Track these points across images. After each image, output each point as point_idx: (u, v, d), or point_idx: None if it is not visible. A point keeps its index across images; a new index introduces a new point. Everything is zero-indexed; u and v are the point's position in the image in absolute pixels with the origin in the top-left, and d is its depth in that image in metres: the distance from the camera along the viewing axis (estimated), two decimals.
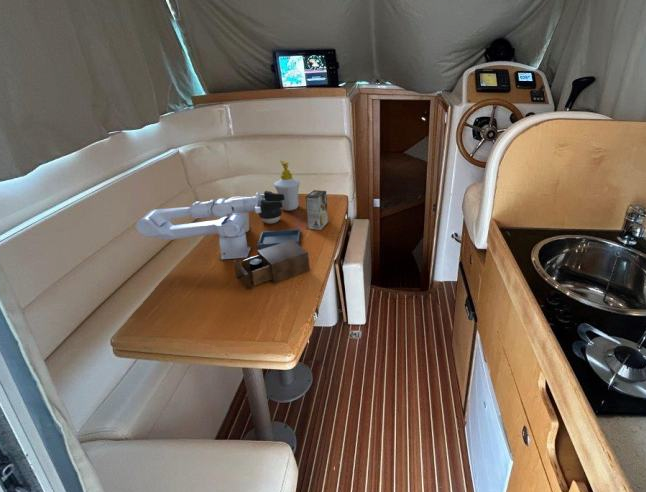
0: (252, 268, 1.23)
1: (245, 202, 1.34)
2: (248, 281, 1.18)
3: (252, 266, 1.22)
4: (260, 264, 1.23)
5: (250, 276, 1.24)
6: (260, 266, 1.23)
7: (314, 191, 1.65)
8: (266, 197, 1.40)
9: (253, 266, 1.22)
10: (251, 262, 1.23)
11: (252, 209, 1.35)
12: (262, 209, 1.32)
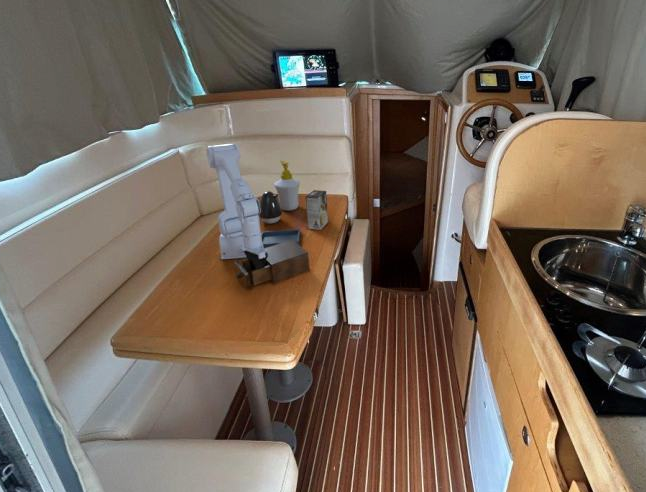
0: (252, 268, 1.23)
1: None
2: (248, 281, 1.18)
3: (252, 266, 1.22)
4: None
5: (250, 276, 1.24)
6: None
7: (314, 191, 1.65)
8: None
9: (253, 266, 1.22)
10: (251, 262, 1.23)
11: None
12: None
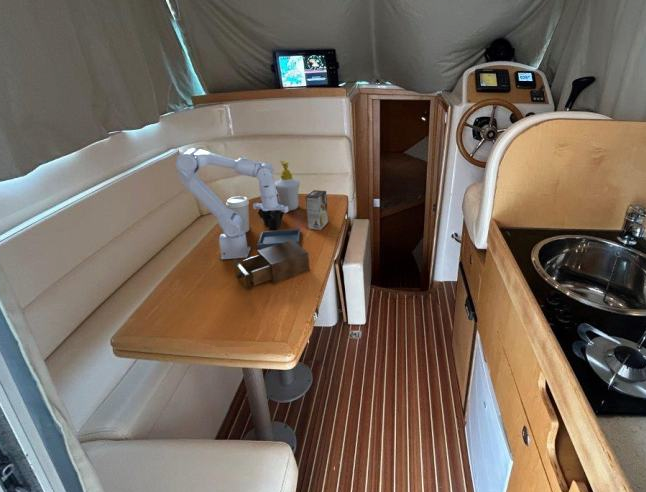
0: (272, 222, 1.39)
1: (261, 197, 1.36)
2: (248, 281, 1.18)
3: (272, 220, 1.39)
4: None
5: (250, 276, 1.24)
6: None
7: (314, 191, 1.65)
8: None
9: (273, 219, 1.39)
10: (269, 218, 1.39)
11: None
12: None
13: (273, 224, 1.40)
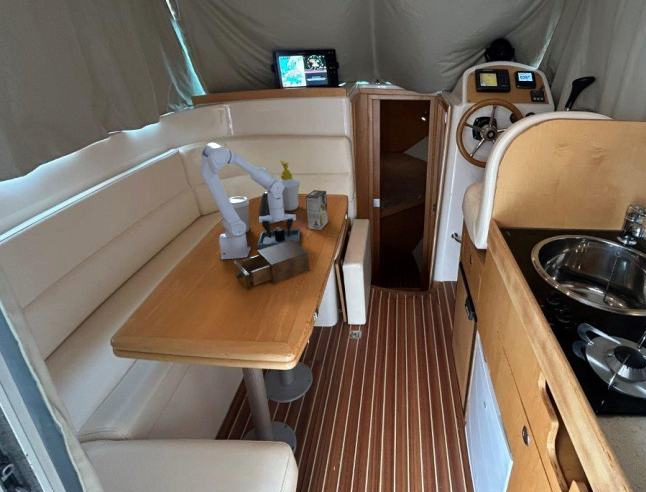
0: (281, 233, 1.51)
1: (270, 209, 1.46)
2: (248, 281, 1.18)
3: (281, 232, 1.51)
4: None
5: (250, 276, 1.24)
6: None
7: (314, 191, 1.65)
8: (287, 222, 1.51)
9: (282, 231, 1.51)
10: (277, 230, 1.50)
11: None
12: None
13: (282, 235, 1.51)
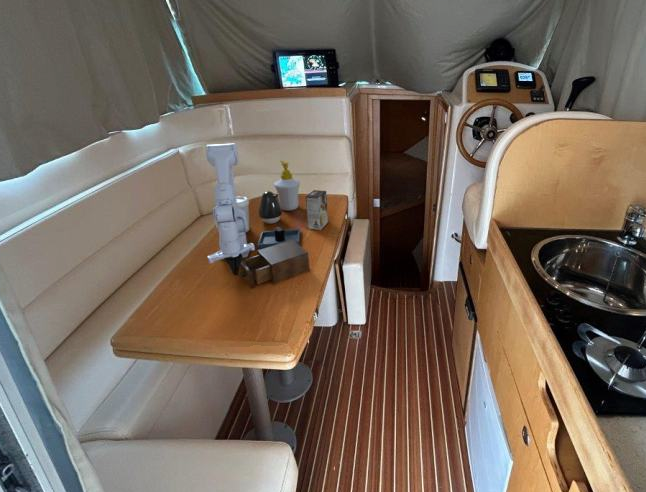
0: (281, 233, 1.51)
1: (224, 243, 1.17)
2: (252, 280, 1.19)
3: (281, 232, 1.51)
4: None
5: (253, 275, 1.25)
6: None
7: (314, 191, 1.65)
8: (233, 257, 1.21)
9: (282, 231, 1.51)
10: (277, 230, 1.50)
11: None
12: (224, 258, 1.20)
13: (282, 235, 1.51)
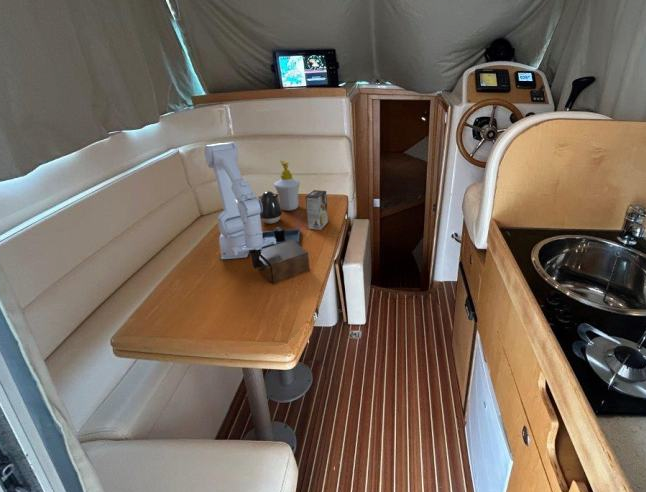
0: (281, 233, 1.51)
1: (248, 236, 1.21)
2: (270, 273, 1.22)
3: (281, 232, 1.51)
4: None
5: None
6: None
7: (314, 191, 1.65)
8: None
9: (282, 231, 1.51)
10: (277, 230, 1.50)
11: (245, 239, 1.24)
12: (249, 250, 1.25)
13: (282, 235, 1.51)
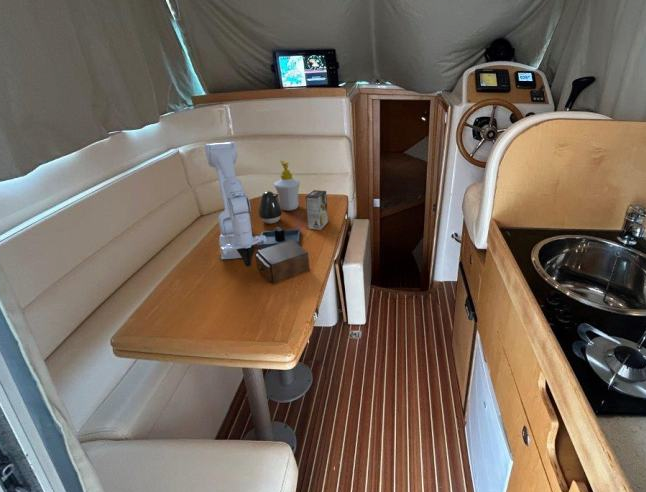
0: (281, 233, 1.51)
1: (237, 235, 1.19)
2: (270, 273, 1.22)
3: (281, 232, 1.51)
4: None
5: None
6: None
7: (314, 191, 1.65)
8: (246, 249, 1.24)
9: (282, 231, 1.51)
10: (277, 230, 1.50)
11: None
12: (237, 250, 1.22)
13: (282, 235, 1.51)
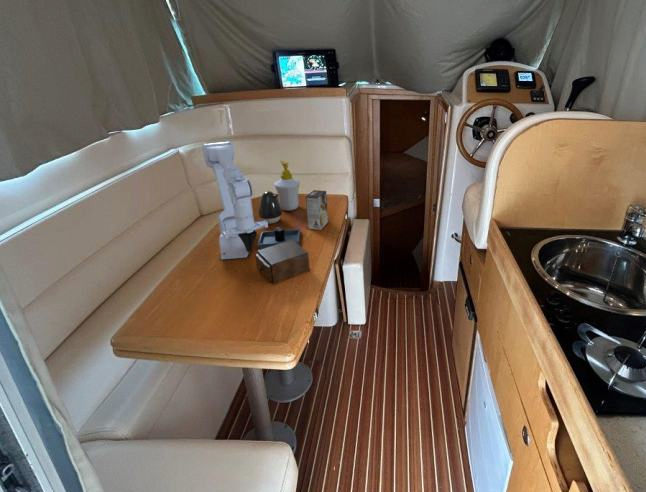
0: (281, 233, 1.51)
1: (239, 219, 1.19)
2: (270, 273, 1.22)
3: (281, 232, 1.51)
4: None
5: None
6: None
7: (314, 191, 1.65)
8: (248, 234, 1.23)
9: (282, 231, 1.51)
10: (277, 230, 1.50)
11: None
12: (238, 235, 1.22)
13: (282, 235, 1.51)
